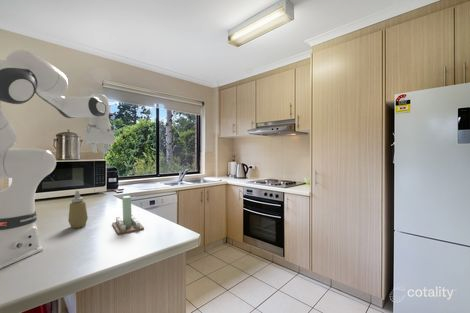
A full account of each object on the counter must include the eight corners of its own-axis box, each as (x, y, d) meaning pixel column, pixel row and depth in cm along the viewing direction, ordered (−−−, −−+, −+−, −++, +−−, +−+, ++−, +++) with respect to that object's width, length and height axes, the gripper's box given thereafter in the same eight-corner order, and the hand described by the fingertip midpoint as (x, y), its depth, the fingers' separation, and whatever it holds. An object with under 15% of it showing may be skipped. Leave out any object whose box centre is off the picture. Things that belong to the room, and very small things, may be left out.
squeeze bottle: (64, 228, 109) (63, 192, 108) (80, 223, 116) (79, 189, 116) (75, 229, 106) (74, 192, 105) (91, 224, 113) (90, 189, 113)
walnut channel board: (143, 229, 104) (143, 222, 104) (118, 235, 98) (117, 227, 98) (135, 220, 119) (135, 214, 119) (112, 224, 112) (112, 217, 112)
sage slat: (131, 225, 107) (130, 197, 107) (125, 227, 106) (124, 198, 105) (129, 223, 111) (128, 195, 111) (123, 224, 110) (122, 196, 109)
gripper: (93, 123, 104) (94, 152, 104) (116, 128, 124) (116, 152, 124) (80, 123, 104) (81, 152, 104) (104, 128, 124) (105, 152, 124)
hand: (100, 152), depth 114 cm, fingers open, 8 cm apart
